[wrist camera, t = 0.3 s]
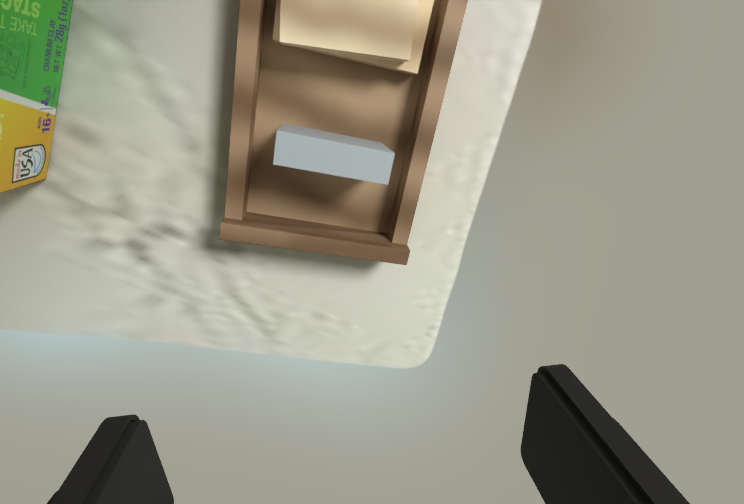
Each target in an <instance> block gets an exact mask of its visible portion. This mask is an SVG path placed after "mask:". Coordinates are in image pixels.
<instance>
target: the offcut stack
mask: <svg viewBox="0 0 744 504" xmlns="http://www.w3.org/2000/svg"><path fill="white" fill-rule="evenodd" d="M433 3H434V0H276V10H275V20H274V30H273V40H274V41H275V42H276V43H281V44H282V45H287V46H293V47H298V48H302V49H306V50H310V51H314V52H319V53H323V54H327V55H331V56H336V57H340V58H344V59H348V60H353V61H357V62H361V63H365V64H370V65H374V66H378V67H382V68H386V69H391V70H395V71H399V72H403V73H408V74H412V75H413V74H418V70H419V65H420V61H421V56H422V52H423V47H424V43H425V38H426V34H427V30H428V25H429V21H430V16H431V12H432V7H433Z"/></svg>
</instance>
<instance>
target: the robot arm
mask: <svg viewBox="0 0 744 504" xmlns="http://www.w3.org/2000/svg"><path fill="white" fill-rule="evenodd" d="M521 455H522V459H523V462H524V464H525V466H526V468H527V470H528V472H529V474H530V476H531V477H532V479H533V481H534V483H535V485H536V486H537V489H538V490H539V492H540V494H541V496H542V498H543V500H544V502H545V503H546V504H690V503H689V502H688V501H687V500H686V499H685V498H684V497H683V496H682V494H681V493H680V492H679V491H678V490H677V489H676V488H675V486H674V485H673V484H672V483H671V482H670V481H669V480H668V479H667V477H666V476H665V475H664V474H663V473H662V472H661V471H660V469H658V467H657V466H656V465H655V464H654V463H653V462H652V460H651V459H650V458H649V457H648V456H647V455H646V454H645V453H644V451H643V450H642V449H641V448H640V447H639V446H638V445H637V443H636V442H635V441H634V440H633V439H632V438H631V437H630V436H629V434H628V433H627V432H626V431H625V430H624V429H623V428H622V426H620V424H619V423H618V422H617V421H616V420H615V419H614V418H612V417H611V416H610V415H609V414H608V412H607V411H606V410H605V409H604V408H603V407H602V406H601V404H600V403H599V402H598V401H597V400H596V399H595V398H594V397H593V396H592V394H591V393H590V392H589V391H588V390H587V389H586V387H585V386H584V385H583V384H582V383H581V382H580V381H579V380H578V378H577V377H576V376H575V375H574V374H573V373H572V372H571V370H570V369H569V368H568V367H567V366H566V365H563V364H559V365H550V366H542V367H540V368H539V369H538V372H537V373H534V374H533V376H532V380H531V386H530V393H529V399H528V405H527V412H526V418H525V425H524V431H523V438H522V444H521ZM47 504H174V499H173V495H172V492H171V489H170V486H169V484H168V481H167V478H166V475H165V472H164V469H163V467H162V464H161V461H160V459H159V456H158V453H157V450H156V447H155V444H154V442H153V439H152V436H151V433H150V430H149V428H148V425H147V423H146V421H144V420H139V418H138V416H136V415H126V416H118V417H109V418H106V419H105V420H104V421H103V422H102V423H101V425H100V426H99V428H98V430H97V431H96V433H95V434H94V436H93V437H92V439H91V440H90V442H89V443H88V445H87V447H86V448H85V450H84V451H83V453H82V454H81V456H80V458H79V459H78V461H77V462H76V464H75V465H74V467H73V468H72V470H71V472H70V473H69V475H68V476H67V478H66V480H65V481H64V482H63V484H62V486H61V487H60V489H59V490H58V491H57V492H56V493H55V494H54V495H53V496H52V498H51V499H50V500H49V502H48V503H47Z"/></svg>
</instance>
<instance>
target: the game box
mask: <svg viewBox="0 0 744 504" xmlns="http://www.w3.org/2000/svg"><path fill="white" fill-rule="evenodd" d="M72 3H73V0H0V193H1V192H5V191H8V190H11V189H14V188H18V187H21V186H24V185H27V184H30V183H34V182H37V181H40V180H44V179H46V177H47V169H48V163H49V156H50V149H51V142H52V135H53V128H54V122H55V116H56V109H57V102H58V95H59V89H60V83H61V76H62V70H63V63H64V56H65V50H66V43H67V36H68V30H69V23H70V17H71V10H72Z"/></svg>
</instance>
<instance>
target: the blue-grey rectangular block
mask: <svg viewBox="0 0 744 504" xmlns="http://www.w3.org/2000/svg"><path fill="white" fill-rule="evenodd" d="M394 156H395V153H394V152H393V151H391V150H390V149H389V148H388V147H387V146H385V145H384V144H383V143H382V142H377V141H371V140H366V139H361V138H356V137H351V136H346V135H341V134H336V133H331V132H326V131H321V130H316V129H311V128H306V127H301V126H296V125H291V124H286V123H284V124H283V125H282V126H281V127H280V128H279V129H278V130H277V133H276V142H275V151H274V159H273V164H274V165H279V166H285V167H291V168H296V169H302V170H308V171H313V172H319V173H324V174H330V175H336V176H341V177H347V178H353V179H358V180H364V181H369V182H375V183H381V184H386V185H388V183H389V178H390V174H391V169H392V165H393V160H394Z"/></svg>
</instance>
